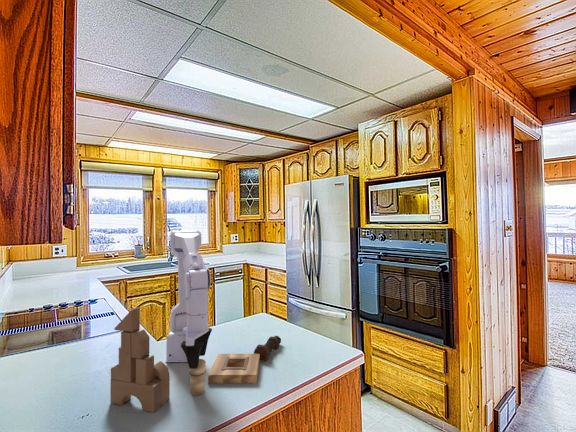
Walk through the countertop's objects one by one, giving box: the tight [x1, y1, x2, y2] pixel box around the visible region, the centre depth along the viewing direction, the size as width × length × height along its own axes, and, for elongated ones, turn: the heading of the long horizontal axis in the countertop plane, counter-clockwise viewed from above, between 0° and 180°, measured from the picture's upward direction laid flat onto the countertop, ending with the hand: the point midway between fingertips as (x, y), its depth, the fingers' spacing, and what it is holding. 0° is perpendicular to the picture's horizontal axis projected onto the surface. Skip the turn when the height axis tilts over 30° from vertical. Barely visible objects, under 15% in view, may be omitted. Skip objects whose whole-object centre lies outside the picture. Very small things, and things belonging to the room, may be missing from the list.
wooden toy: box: [109, 306, 171, 413], centre depth 83 cm, size 15×7×25 cm, turn 73°
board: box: [207, 353, 261, 384], centre depth 98 cm, size 14×14×3 cm
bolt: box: [253, 335, 282, 362], centre depth 112 cm, size 6×5×15 cm
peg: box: [188, 358, 207, 396], centre depth 87 cm, size 4×4×8 cm
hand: (197, 361), depth 87 cm, fingers open, 7 cm apart
